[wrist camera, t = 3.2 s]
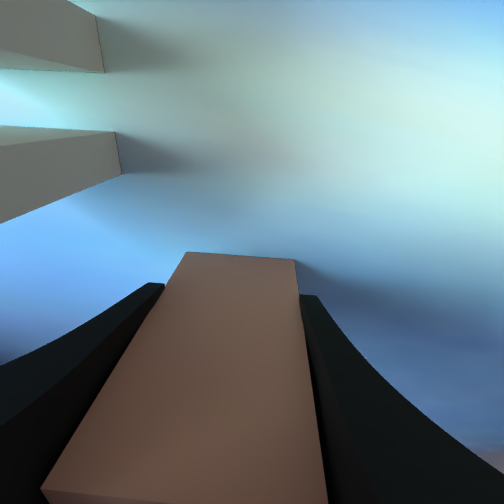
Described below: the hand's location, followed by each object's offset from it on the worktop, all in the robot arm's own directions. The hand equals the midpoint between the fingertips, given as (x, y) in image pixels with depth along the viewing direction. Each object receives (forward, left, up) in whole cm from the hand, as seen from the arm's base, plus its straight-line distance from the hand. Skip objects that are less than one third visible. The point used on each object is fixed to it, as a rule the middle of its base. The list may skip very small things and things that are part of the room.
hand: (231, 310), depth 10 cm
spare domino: (0, 0, -3) cm, 3 cm away
